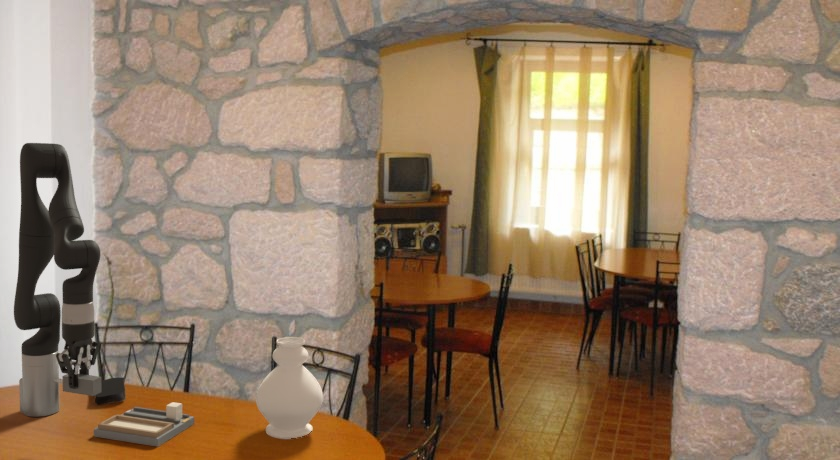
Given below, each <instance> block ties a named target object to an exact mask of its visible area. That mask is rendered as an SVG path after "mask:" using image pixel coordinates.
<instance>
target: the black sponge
mask: <svg viewBox="0 0 840 460" xmlns="http://www.w3.org/2000/svg"><path fill="white" fill-rule="evenodd" d="M125 380H126V379H125V377H112V378H111V377H110V378H107V379H101V393H99V394H96V395H94V403H95V405H97V406H102V405H108V404H113V403H120V402H124V401H125V400H126V395H127V394H126V385H125V382H126V381H125Z"/></svg>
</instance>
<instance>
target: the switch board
mask: <svg viewBox="0 0 840 460" xmlns="http://www.w3.org/2000/svg"><path fill="white" fill-rule="evenodd" d="M193 425H195V416H192V415H190V414H189V413H182V418H181V419H179V420H177V419H170V418H166V410H160V409H153V408H146V407H141V406H134V407H133V408H131V409H128V410H126V411H124V412H123V413H122V414H114V415H112V416H110V417H109V418H107V419H105V420H103V421H101V422H99V423H97V426H96V427H95V428H94V429H93V436H94V437H95V438H102V439H103V438H104V439H108V440H114V441H119V442H120V441H121V442H128V443H133V444H140V445H145V446H151V447H160V446H162V445H164V443H167V442H168V441H169V440H171V439H173V438H174V437H176V436H177V435H179V434H180V433H182V432H184V431H185V430H186V429H188V428H190V427H192V426H193Z"/></svg>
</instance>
